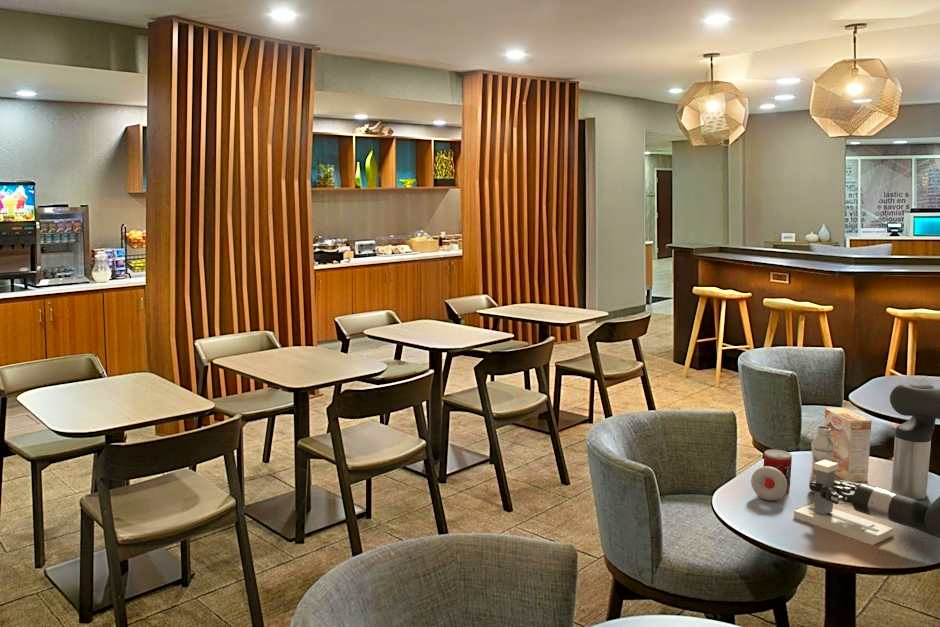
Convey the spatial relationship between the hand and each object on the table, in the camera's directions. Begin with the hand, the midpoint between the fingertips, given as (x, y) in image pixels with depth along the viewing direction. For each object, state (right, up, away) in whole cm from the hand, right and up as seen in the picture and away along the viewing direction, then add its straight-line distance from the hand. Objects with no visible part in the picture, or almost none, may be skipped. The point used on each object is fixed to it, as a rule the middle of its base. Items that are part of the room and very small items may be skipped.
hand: (815, 483), depth 222 cm
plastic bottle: (+9, -7, +19) cm, 22 cm away
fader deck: (+5, -10, -5) cm, 13 cm away
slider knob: (+2, -8, -1) cm, 8 cm away
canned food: (-2, -7, +23) cm, 24 cm away
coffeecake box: (+24, -5, +36) cm, 43 cm away
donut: (-8, -8, +14) cm, 18 cm away
